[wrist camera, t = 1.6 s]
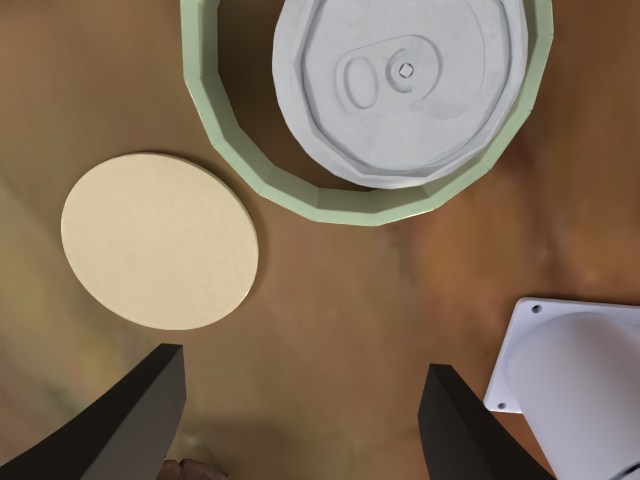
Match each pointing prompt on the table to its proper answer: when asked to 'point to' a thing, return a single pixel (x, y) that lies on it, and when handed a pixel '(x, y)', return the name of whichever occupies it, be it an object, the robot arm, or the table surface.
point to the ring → (334, 203)
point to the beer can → (397, 83)
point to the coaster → (160, 241)
